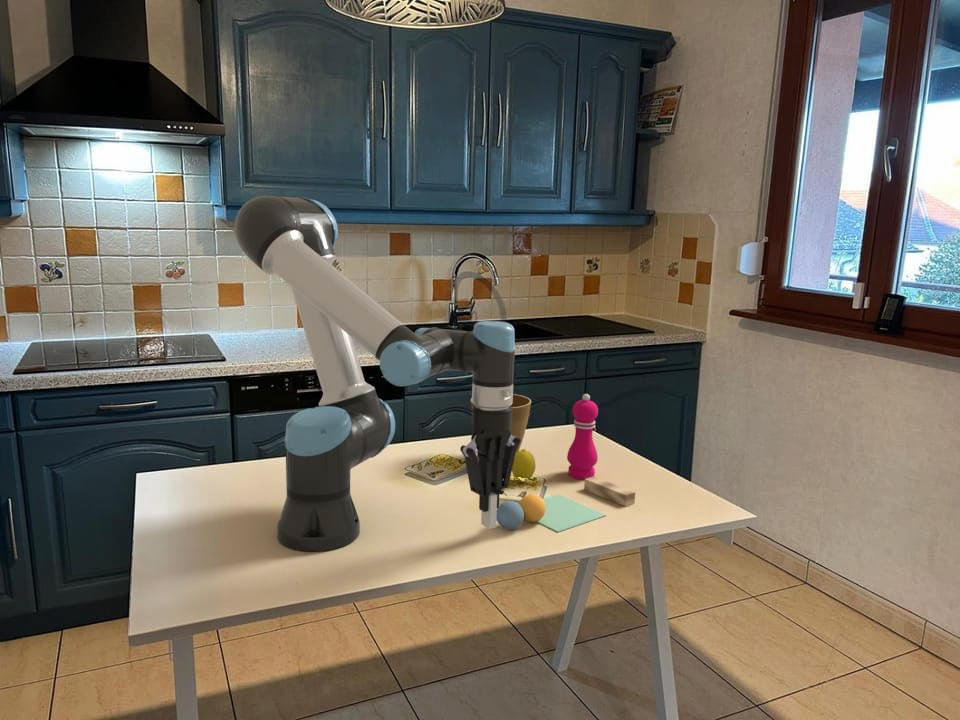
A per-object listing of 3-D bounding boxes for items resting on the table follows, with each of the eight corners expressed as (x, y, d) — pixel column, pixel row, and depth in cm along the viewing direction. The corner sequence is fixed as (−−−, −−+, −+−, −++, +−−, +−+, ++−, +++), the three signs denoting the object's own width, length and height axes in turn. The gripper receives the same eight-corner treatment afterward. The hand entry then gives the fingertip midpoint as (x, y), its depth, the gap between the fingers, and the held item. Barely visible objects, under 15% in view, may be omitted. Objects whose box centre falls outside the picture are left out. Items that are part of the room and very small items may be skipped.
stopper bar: (634, 503, 157) (635, 492, 157) (625, 506, 156) (626, 495, 155) (593, 486, 167) (593, 476, 166) (584, 489, 165) (584, 478, 164)
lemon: (532, 487, 165) (534, 453, 163) (508, 484, 166) (510, 451, 164) (535, 479, 170) (537, 446, 169) (512, 476, 171) (514, 444, 170)
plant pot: (507, 449, 192) (509, 390, 188) (539, 466, 179) (543, 403, 176) (458, 456, 184) (459, 395, 181) (488, 475, 172) (490, 410, 168)
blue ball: (512, 492, 145) (516, 515, 146) (488, 503, 142) (493, 526, 144) (527, 502, 140) (531, 527, 142) (502, 514, 138) (507, 538, 140)
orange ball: (510, 518, 146) (515, 492, 145) (526, 515, 150) (531, 489, 150) (532, 527, 142) (537, 500, 142) (548, 523, 147) (553, 497, 146)
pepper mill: (570, 468, 179) (575, 389, 175) (599, 472, 176) (604, 392, 172) (562, 477, 172) (567, 395, 168) (592, 482, 169) (598, 399, 166)
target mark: (557, 532, 141) (558, 531, 141) (510, 509, 152) (510, 508, 152) (605, 516, 150) (605, 515, 150) (557, 494, 161) (557, 494, 161)
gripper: (477, 415, 127) (473, 541, 132) (532, 405, 135) (527, 524, 140) (451, 406, 133) (449, 527, 137) (505, 397, 141) (501, 511, 145)
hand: (488, 525), depth 138 cm, fingers closed
